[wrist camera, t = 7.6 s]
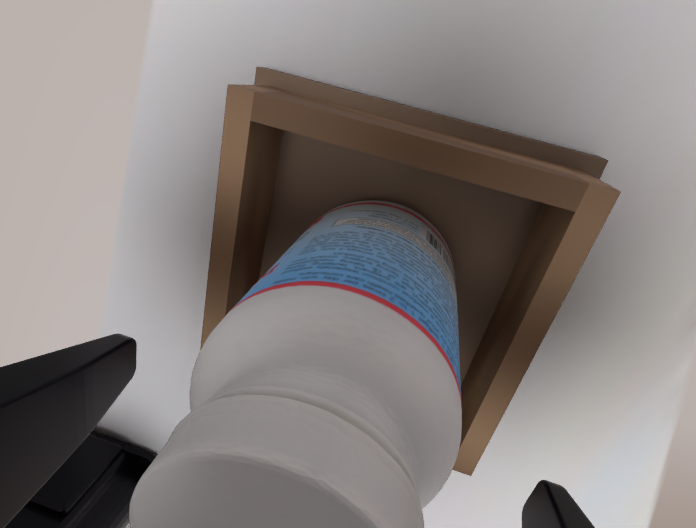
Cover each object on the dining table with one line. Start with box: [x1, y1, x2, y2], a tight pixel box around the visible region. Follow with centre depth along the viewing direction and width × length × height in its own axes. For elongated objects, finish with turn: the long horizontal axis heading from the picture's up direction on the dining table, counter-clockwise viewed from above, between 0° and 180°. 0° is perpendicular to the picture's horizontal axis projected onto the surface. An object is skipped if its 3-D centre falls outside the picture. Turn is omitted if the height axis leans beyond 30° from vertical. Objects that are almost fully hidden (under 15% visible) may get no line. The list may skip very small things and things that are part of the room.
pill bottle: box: [129, 200, 462, 528], centre depth 11 cm, size 6×6×11 cm
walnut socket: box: [200, 67, 621, 476], centre depth 15 cm, size 12×12×4 cm
